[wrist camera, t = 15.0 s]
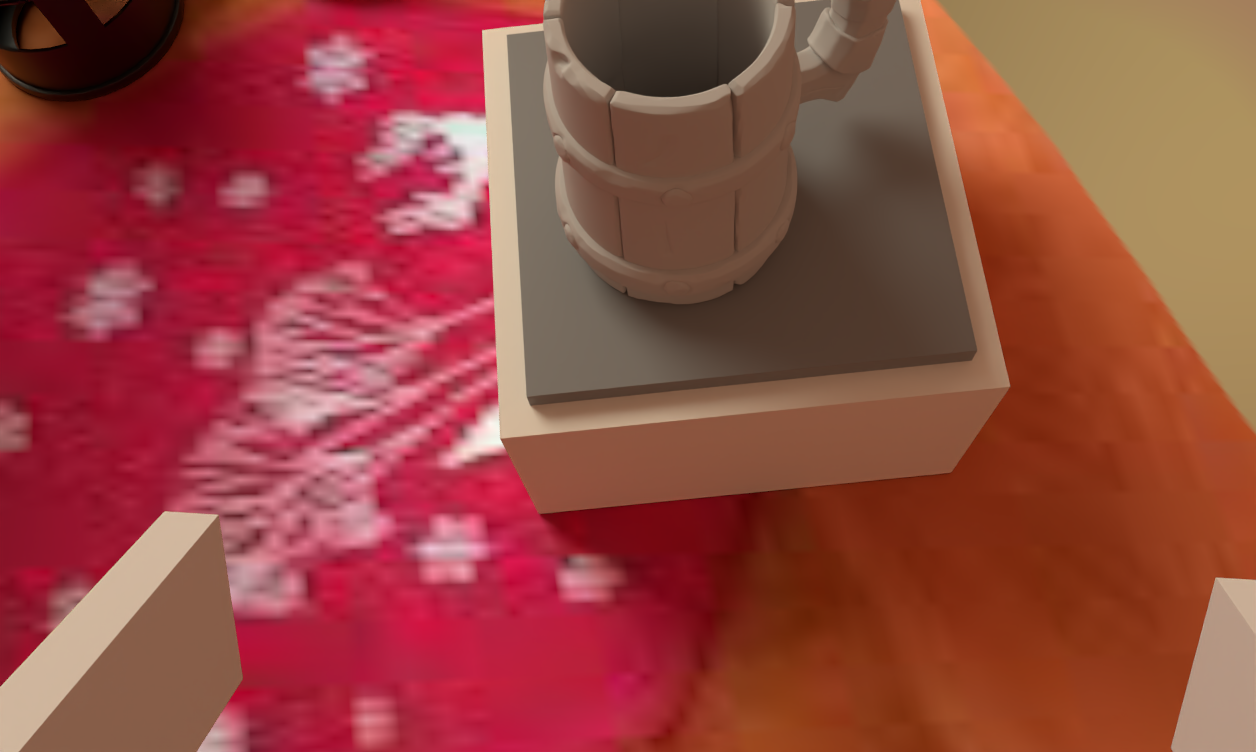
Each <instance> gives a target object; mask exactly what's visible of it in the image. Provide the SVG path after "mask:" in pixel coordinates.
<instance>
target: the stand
mask: <svg viewBox="0 0 1256 752" xmlns="http://www.w3.org/2000/svg"><path fill="white" fill-rule="evenodd" d="M828 7H829V8H831V0H795V6H794V8H795V9H796V22H795V40H794V47H795V50H796V52H800V51H802V50H804V49H806V48H807V47H809V44H808V41H807V39H808V37H809V36H810V35H811V33H812V31H813V29H814V27H815V25H816V23H817V21H818V19H819V17H820V15H821V13H822V12H823V10H824V9H825V8H828ZM887 19H888V24H887V26H886V29H885V32H884V36H883V39H882V42H881V45H880V47H879V48H878V50H877V53H876V55H875V58H874V60H873V62H872V65H871V67H870V68H869V69H868V70H866V71H864V72H861V73H859V75H858V77H857V79H856V80H855V82H854V84H853V85H852V87H851V88H850V89H849V91H848V92H847V94H846V95H845V97H844V98H843V99H842V100H840V101H838V102H834V101H829V100H824V99H816V100H811V101H808V102H804V103H802V104H799V110H798V115H797V119H796V126H795V134H794V137H793V139H792V141H791V143H790V145H791V147H792V150H793V153H794V156H795V161H796V167H797V196H796V203H795V208H794V212H793V215H792V219H791V222H790V224H789V228H788V231H787V233H786V235H785V237H784V238H783V240H782V241H781V242H780V243H779V245H778V246H777V248H776V249H775V250H774V251H773V253H772V254H771V255H770V256H769V257H768V259H767V260H766V261H765V263H764V264H763V266H762V267H761V268H760V269H759V270H758V271H757V272H756V274H755V275H754V276H752V277H751V278H750V279H749V280H748V281H746V282H745V283H744V284H735V283H733V290H732V291H730V292H728V293H726V294H724V295H722V296H720V297H718V298H715V299H712V300H708V301H704V302H700V303H694V304H672V303H663V302H654V301H648V300H643V299H637V298H634V297H631V296H629V295H628V292H627V290H626V292H624V293H622V292H620V291H619V290H617V289H615V288H613V287H612V286H610V285H609V284H608V283H606V282H605V281H604V280H603V279H601V278H600V277H599V276H598V275H597V274H596V273H595V272H594V271H593V270H592V268H591V267H590V266H589V265H588V263H587V262H586V261H585V260H584V259H583V258H582V257H581V256H580V255H579V253H578V252H577V251H576V250H575V248H574V247H573V246H572V245H571V243H570V242H569V241H568V239H567V237H566V234H565V230H564V228H563V225H562V223H561V220H560V217H559V215H558V212H557V203H556V195H555V174H556V167H557V162H558V158H559V155H558V153H557V151H556V149H555V146H554V138H553V135H552V133H551V130H550V127H549V123H548V119H547V115H546V110H545V104H544V95H543V82H544V73H545V68H546V64H547V61H548V59H547V52H546V44H545V37H544V28H543V23H542V24H533V25H524V26H515V27H506V28H497V29H488V30H482V38H483V61H484V83H485V106H486V128H487V151H488V173H489V195H490V218H491V240H492V263H493V285H494V308H495V330H496V352H497V375H498V397H499V420H500V439H501V441H502V443H503V445H504V447H505V449H506V451H507V453H508V455H509V457H510V458H511V460H512V462H513V464H514V466H515V468H516V470H517V472H518V474H519V476H520V478H521V480H522V482H523V484H524V486H525V488H526V490H527V492H528V494H529V496H530V498H531V499H532V501H533V503H534V505H535V507H536V509H537V511H538V513H539V514H544V513H554V512H564V511H574V510H584V509H594V508H604V507H614V506H624V505H634V504H644V503H654V502H664V501H674V500H684V499H694V498H704V497H714V496H724V495H734V494H744V493H754V492H764V491H773V490H783V489H793V488H803V487H813V486H823V485H833V484H843V483H853V482H863V481H873V480H883V479H893V478H903V477H913V476H923V475H933V474H943V473H951V472H952V471H953V469H954V468H955V466H956V465H957V463H958V462H959V461H960V459H961V458H962V456H963V455H964V453H965V452H966V450H967V449H968V448H969V446H970V445H971V443H972V442H973V440H974V439H975V437H976V436H977V434H978V433H979V432H980V430H981V429H982V427H983V426H984V424H985V423H986V421H987V420H988V419H989V417H990V416H991V414H992V413H993V411H994V410H995V408H996V407H997V405H998V404H999V403H1000V401H1001V400H1002V398H1003V397H1004V395H1005V394H1006V392H1007V391H1008V389H1009V388H1010V383H1009V378H1008V374H1007V370H1006V366H1005V361H1004V357H1003V353H1002V348H1001V344H1000V340H999V335H998V331H997V327H996V323H995V318H994V314H993V310H992V305H991V301H990V297H989V293H988V288H987V284H986V280H985V275H984V271H983V267H982V263H981V258H980V254H979V250H978V245H977V241H976V237H975V233H974V228H973V224H972V220H971V215H970V211H969V207H968V203H967V198H966V194H965V190H964V185H963V181H962V177H961V173H960V168H959V164H958V160H957V155H956V151H955V147H954V142H953V138H952V134H951V130H950V125H949V121H948V117H947V112H946V108H945V104H944V100H943V95H942V91H941V87H940V82H939V78H938V74H937V70H936V65H935V61H934V57H933V52H932V48H931V44H930V40H929V35H928V31H927V27H926V22H925V18H924V14H923V10H922V5H921V1H920V0H896V2H895V4H894V7H893V9H892V11H891V12H890V13H889V14H888V15H887Z"/></svg>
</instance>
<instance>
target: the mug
mask: <svg viewBox="0 0 1256 752" xmlns="http://www.w3.org/2000/svg"><path fill="white" fill-rule="evenodd" d="M895 2H896V0H831V8H829V7H828V8H825V9H824V10H823V12H822V13H821V15H820V17H819V19H818V21H817V23H816V25H815V27H814V29H813V31H812V33H811V35H810V36H809V37H808V39H807V41H808V44H809V47H807V48H806V49H804V50H802V51H800V52H796V50H795V47H794V40H795V22H796V9H795V8H794V6H795V0H545V4H544V12H543V16H544V21H543V28H544V37H545V44H546V52H547V59H548V61H547V64H546V68H545V73H544V82H543V95H544V104H545V110H546V115H547V119H548V123H549V127H550V130H551V133H552V135H553V138H554V146H555V149H556V151H557V153H558V155H559V158H558V162H557V167H556V174H555V195H556V203H557V212H558V215H559V217H560V220H561V223H562V225H563V228H564V230H565V234H566V237H567V239H568V241H569V242H570V243H571V245H572V246H573V247H574V248H575V250H576V251H577V252H578V253H579V255H580V256H581V257H582V258H583V259H584V260H585V261H586V262H587V263H588V265H589V266H590V267H591V268H592V270H593V271H594V272H595V273H596V274H597V275H598V276H599V277H600V278H601V279H603V280H604V281H605V282H606V283H608V284H609V285H610V286H612V287H613V288H615V289H617V290H619V291H620V292H622V293H624V292H626V290H627V292H628V295H629V296H631V297H634V298H637V299H643V300H648V301H654V302H663V303H672V304H694V303H700V302H704V301H708V300H712V299H715V298H718V297H720V296H722V295H724V294H726V293H728V292H730V291H732V290H733V283H735V284H744V283H745V282H746V281H748V280H749V279H750V278H751V277H752V276H754V275H755V274H756V272H757V271H758V270H759V269H760V268H761V267H762V266H763V264H764V263H765V261H766V260H767V259H768V257H769V256H770V255H771V254H772V253H773V251H774V250H775V249H776V248H777V246H778V245H779V243H780V242H781V241H782V240H783V238H784V237H785V235H786V233H787V231H788V228H789V224H790V222H791V219H792V215H793V212H794V208H795V203H796V196H797V167H796V161H795V156H794V153H793V150H792V147H791V145H790V143H791V141H792V139H793V137H794V134H795V126H796V119H797V115H798V110H799V104H802V103H804V102H808V101H811V100H816V99H824V100H829V101H834V102H838V101H840V100H842V99H843V98H844V97H845V95H846V94H847V92H848V91H849V89H850V88H851V87H852V85H853V84H854V82H855V80H856V79H857V77H858V75H859V73H861V72H864V71H866V70H868V69H869V68H870V67H871V65H872V62H873V60H874V58H875V55H876V53H877V50H878V48H879V47H880V45H881V42H882V39H883V36H884V32H885V29H886V26H887V24H888V19H887V15H888V14H889V13H890V12H891V11H892V9H893V7H894V4H895Z"/></svg>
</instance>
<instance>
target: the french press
mask: <svg viewBox="0 0 1256 752" xmlns="http://www.w3.org/2000/svg"><path fill="white" fill-rule="evenodd" d="M31 1H33V2H34V3H35V5H36V6H37V7H38V8H39V10H40V11H41V12H42V13H43V15H44V16H45V17H46V18H47V19H48V21H49V22H50V23H51V24H52V26H53V27H54V28H55V29H56V31H57V32H58V33H59V34H60V36H61V37H62V38H63V39H64V41H65V42H66V44H62V45H58V46H54V47H50V48H41V49H19V46H18V43H17V40H16V25H17V19H18V16H19V14H20V11H21V9H22V7H23V5H24V4H25V3H27V2H31ZM183 10H184V0H129V1H128V2H127V3H126V4H125V6H124V7H123V8H122V9H121V10H120V11H119V12H118V14H116V15H115V16H114V17H113V18H111V19H110V20H109V21H108V22H107V23H105V24H104V25H103V24H102V23H101V22H100V20H99V19H98V17H97V16H96V15H95V13H94V12H93V11H92V9H91V8H90V7H89V5H88V4H87V3H86V1H85V0H0V71H1V73H2V74H3V75H4V76H5V77H6V78H7V79H8V80H9V81H10V82H12V83H13V84H14V85H15V86H16V87H18V88H20V89H21V90H23V91H25V92H27V93H29V94H31V95H33V96H37V97H41V98H44V99H48V100H57V101H76V100H87V99H91V98H95V97H99V96H103V95H106V94H109V93H111V92H113V91H116V90H118V89H121V88H123V87H125V86H127V85H128V84H130V83H132V82H133V81H135V80H137V79H138V78H140V77H141V76H143V75H144V74H145V73H146V72H147V71H149V70H150V69H151V68H152V67H153V66H155V65H156V64H157V63H158V61H159V60H160V59H161V58H162V57H163V56H164V54H165V53H166V52H167V51H168V50H169V48H170V46H171V45H172V43H173V41H174V39H175V38H176V36H177V34H178V31H179V28H180V25H181V22H182V19H183Z"/></svg>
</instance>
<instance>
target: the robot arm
mask: <svg viewBox="0 0 1256 752" xmlns="http://www.w3.org/2000/svg"><path fill="white" fill-rule="evenodd" d="M242 679H243V676H242V669H241V662H240V656H239V649H238V642H237V635H236V629H235V622H234V615H233V608H232V602H231V595H230V588H229V581H228V575H227V568H226V561H225V554H224V548H223V541H222V534H221V527H220V521H219V515H214V514H199V513H183V512H167V511H164V513H163V514H162V515H161V516H160V517H159V518H158V519H157V520H156V521H155V522H154V523H153V524H152V525H151V526H150V528H149V529H148V530H147V531H146V532H145V533H144V534H143V535H142V536H141V537H140V538H139V539H138V540H137V541H136V542H135V544H134V545H133V546H132V547H131V548H130V549H129V550H128V551H127V552H126V553H125V554H124V555H123V556H122V557H121V558H120V560H119V561H118V562H117V563H116V564H115V565H114V566H113V567H112V568H111V569H110V570H109V571H108V572H107V573H106V575H105V576H104V577H103V578H102V579H101V580H100V581H99V582H98V583H97V584H96V585H95V586H94V587H93V588H92V589H91V591H90V592H89V593H88V594H87V595H86V596H85V597H84V598H83V599H82V600H81V601H80V602H79V603H78V604H77V606H76V607H75V608H74V609H73V610H72V611H71V612H70V613H69V614H68V615H67V616H66V617H65V618H64V619H63V620H62V622H61V623H60V624H59V625H58V626H57V627H56V628H55V629H54V630H53V631H52V632H51V633H50V634H49V635H48V637H47V638H46V639H45V640H44V641H43V642H42V643H41V644H40V645H39V646H38V647H37V648H36V649H35V650H34V651H33V653H32V654H31V655H30V656H29V657H28V658H27V659H26V660H25V661H24V662H23V663H22V664H21V665H20V666H19V667H18V669H17V670H16V671H15V672H14V673H13V674H12V675H11V676H10V677H9V678H8V679H7V680H6V681H5V682H4V684H3V685H2V686H1V687H0V752H197V750H198V748H199V747H200V745H201V744H202V742H203V741H204V739H205V737H206V736H207V734H208V733H209V731H210V730H211V728H212V726H213V725H214V723H215V722H216V720H217V719H218V717H219V715H220V714H221V712H222V711H223V709H224V708H225V706H226V704H227V703H228V701H229V700H230V698H231V697H232V695H233V693H234V692H235V690H236V689H237V687H238V686H239V684H240V682H241V681H242ZM1171 749H1172V751H1173V752H1256V580H1247V579H1231V578H1215V582H1214V586H1213V590H1212V594H1211V597H1210V601H1209V605H1208V609H1207V613H1206V616H1205V620H1204V624H1203V628H1202V632H1201V635H1200V639H1199V643H1198V647H1197V651H1196V654H1195V658H1194V662H1193V666H1192V670H1191V673H1190V677H1189V681H1188V685H1187V689H1186V692H1185V696H1184V700H1183V704H1182V707H1181V711H1180V715H1179V719H1178V723H1177V726H1176V730H1175V734H1174V738H1173V742H1172V745H1171Z"/></svg>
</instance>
